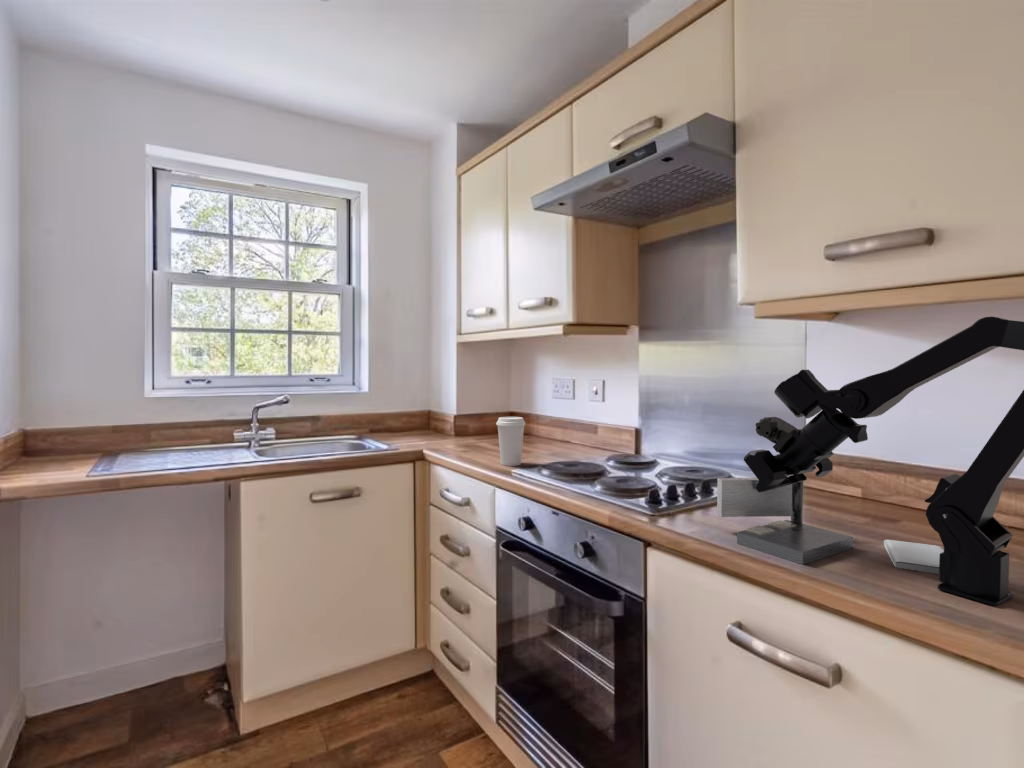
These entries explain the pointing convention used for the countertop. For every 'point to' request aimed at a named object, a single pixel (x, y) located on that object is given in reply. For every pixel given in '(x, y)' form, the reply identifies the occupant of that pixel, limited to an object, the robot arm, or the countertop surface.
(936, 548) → the hard drive
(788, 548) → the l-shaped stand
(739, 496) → the grey flat panel
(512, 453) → the coffee cup
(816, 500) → the countertop surface
